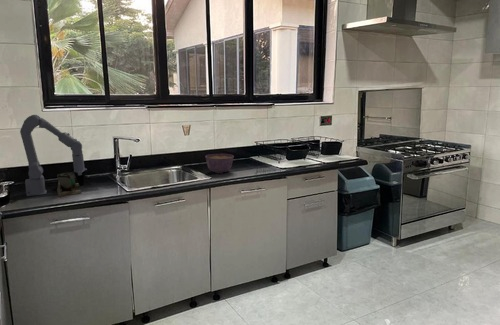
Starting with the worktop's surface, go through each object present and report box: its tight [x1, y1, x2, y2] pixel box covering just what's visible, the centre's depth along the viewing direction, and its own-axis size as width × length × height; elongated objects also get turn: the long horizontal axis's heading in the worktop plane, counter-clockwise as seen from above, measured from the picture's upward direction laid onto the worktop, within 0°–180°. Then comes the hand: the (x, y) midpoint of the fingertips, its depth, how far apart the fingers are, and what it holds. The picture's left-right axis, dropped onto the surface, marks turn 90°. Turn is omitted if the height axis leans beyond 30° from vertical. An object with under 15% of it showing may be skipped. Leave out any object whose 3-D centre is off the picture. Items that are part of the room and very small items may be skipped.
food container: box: [56, 171, 77, 192], centre depth 215 cm, size 12×6×10 cm, turn 62°
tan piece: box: [56, 181, 82, 198], centre depth 217 cm, size 12×24×4 cm, turn 25°
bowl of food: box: [204, 153, 235, 174], centre depth 263 cm, size 20×20×12 cm
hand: (81, 184), depth 219 cm, fingers open, 4 cm apart
